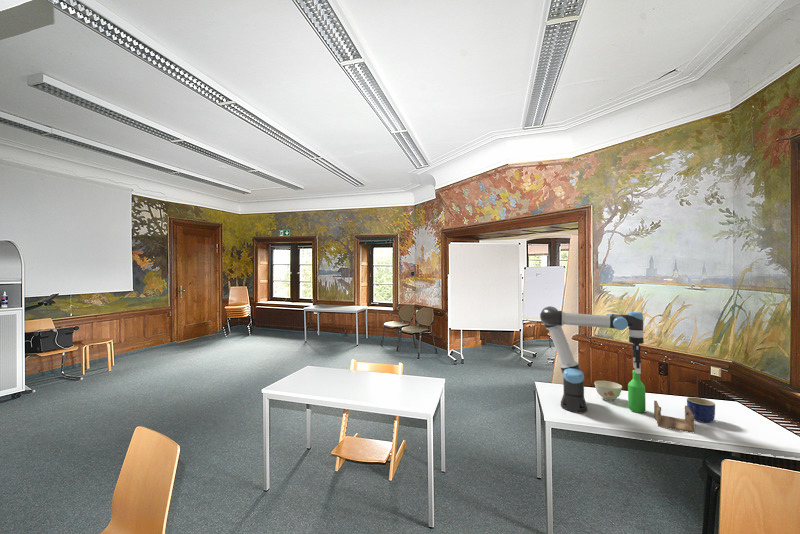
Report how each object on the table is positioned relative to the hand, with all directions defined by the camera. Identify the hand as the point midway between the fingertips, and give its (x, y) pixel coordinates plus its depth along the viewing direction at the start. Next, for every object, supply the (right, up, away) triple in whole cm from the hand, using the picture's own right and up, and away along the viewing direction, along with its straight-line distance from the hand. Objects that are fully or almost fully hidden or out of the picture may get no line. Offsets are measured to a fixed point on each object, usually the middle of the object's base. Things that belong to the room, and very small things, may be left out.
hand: (636, 370), depth 208 cm
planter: (+28, -25, -13) cm, 40 cm away
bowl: (-6, -25, +18) cm, 32 cm away
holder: (+7, -25, -19) cm, 32 cm away
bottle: (0, -25, 0) cm, 25 cm away
